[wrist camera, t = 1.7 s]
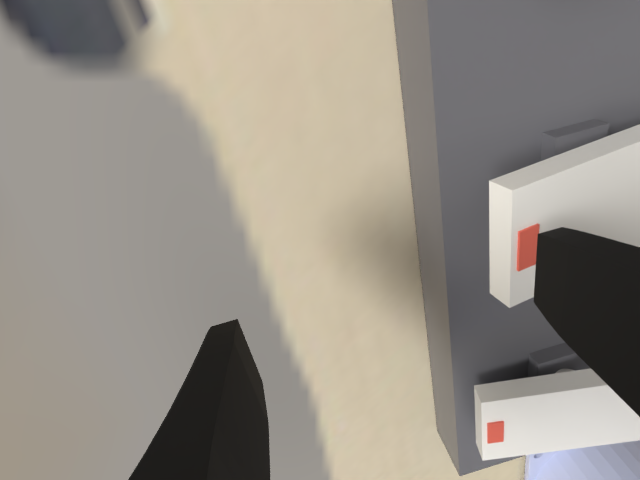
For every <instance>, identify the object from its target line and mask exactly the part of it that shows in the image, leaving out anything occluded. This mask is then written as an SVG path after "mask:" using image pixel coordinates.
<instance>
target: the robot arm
mask: <svg viewBox="0 0 640 480" xmlns="http://www.w3.org/2000/svg"><path fill="white" fill-rule="evenodd" d="M534 303H535V305H536V306H537V307H538V309H539V310H540V312H541V313H542V314H543V316H544V317H545V318H546V320H547V321H548V322H549V324H550V325H551V326H552V327H553V329H554V330H555V331H556V332H557V334H558V335H559V336H560V337H561V338H562V339H563V340H564V341H565V343H566V344H567V345H568V346H569V347H570V348H571V349H572V350H573V351H574V352H575V353H576V354H577V355H578V356H579V357H580V358H581V359H582V360H583V361H584V362H585V363H586V364H587V365H588V366H589V367H590V368H591V369H592V370H593V371H594V372H595V373H596V374H597V375H598V376H599V377H600V378H601V379H602V380H603V381H604V382H605V383H606V384H607V385H608V386H609V387H610V388H611V389H612V390H613V391H614V392H615V393H616V394H617V395H618V396H619V397H620V398H621V399H622V400H623V401H624V402H625V403H626V404H627V405H628V406H629V407H630V408H631V409H632V410H633V411H634V412H635V413H636V414H637V415H638V416H639V417H640V247H637V246H633V245H630V244H626V243H623V242H619V241H616V240H612V239H609V238H605V237H601V236H598V235H594V234H590V233H587V232H583V231H578V230H574V229H569V228H565V227H560V228H557V229H553V230H550V231H546V232H543V233H539V234H538V238H537V254H536V270H535V286H534ZM129 480H270V456H269V428H268V417H267V410H266V403H265V396H264V389H263V383H262V380H261V377H260V375H259V372H258V369H257V367H256V364H255V362H254V360H253V357H252V355H251V352H250V349H249V347H248V344H247V342H246V340H245V337H244V335H243V332H242V329H241V327H240V324H239V322H238V319H236V320H233V321H229V322H226V323H222V324H219V325H216V326H212V327H211V328H210V329H209V331H208V332H207V335H206V337H205V339H204V341H203V344H202V345H201V347H200V350H199V352H198V354H197V356H196V358H195V360H194V363H193V365H192V367H191V369H190V371H189V373H188V375H187V377H186V379H185V381H184V383H183V385H182V387H181V389H180V391H179V393H178V395H177V397H176V399H175V400H174V403H173V404H172V406H171V409H170V410H169V412H168V414H167V416H166V417H165V419H164V421H163V423H162V424H161V426H160V428H159V430H158V431H157V433H156V435H155V436H154V438H153V440H152V442H151V444H150V445H149V447H148V449H147V450H146V452H145V454H144V455H143V457H142V459H141V460H140V462H139V464H138V465H137V467H136V468H135V470H134V472H133V473H132V475H131V476H130V478H129ZM524 480H640V440H638V441H631V442H623V443H615V444H607V445H600V446H592V447H584V448H577V449H569V450H561V451H554V452H546V453H538V454H530V455H526V463H525V478H524Z"/></svg>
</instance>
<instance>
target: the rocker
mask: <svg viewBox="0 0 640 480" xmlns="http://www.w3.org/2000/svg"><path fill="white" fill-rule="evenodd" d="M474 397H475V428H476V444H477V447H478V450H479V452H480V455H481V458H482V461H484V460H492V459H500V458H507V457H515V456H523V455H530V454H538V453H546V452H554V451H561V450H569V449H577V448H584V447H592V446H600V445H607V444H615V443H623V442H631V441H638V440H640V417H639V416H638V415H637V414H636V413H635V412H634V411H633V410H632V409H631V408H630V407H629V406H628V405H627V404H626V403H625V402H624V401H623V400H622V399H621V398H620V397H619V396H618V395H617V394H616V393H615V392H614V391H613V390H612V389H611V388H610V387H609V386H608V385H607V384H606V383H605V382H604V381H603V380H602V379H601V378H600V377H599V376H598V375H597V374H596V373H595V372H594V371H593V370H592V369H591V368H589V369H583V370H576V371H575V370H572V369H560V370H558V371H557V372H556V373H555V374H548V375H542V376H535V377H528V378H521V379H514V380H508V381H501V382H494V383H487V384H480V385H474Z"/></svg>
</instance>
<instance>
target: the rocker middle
mask: <svg viewBox="0 0 640 480" xmlns="http://www.w3.org/2000/svg"><path fill="white" fill-rule="evenodd" d="M560 227H565V228H569V229H574V230H578V231H583V232H587V233H590V234H594V235H598V236H601V237H605V238H609V239H612V240H616V241H619V242H623V243H626V244H630V245H633V246H637V247H640V124H639V125H636V126H633V127H631V128H628V129H625V130H623V131H620V132H617V133H615V134H612V135H609V136H607V137H604V138H601V139H599V140H596V141H593V142H591V143H588V144H585V145H583V146H580V147H577V148H575V149H572V150H569V151H567V152H564V153H561V154H559V155H556V156H553V157H551V158H548V159H545V160H543V161H540V162H537V163H535V164H532V165H529V166H527V167H524V168H521V169H519V170H516V171H513V172H511V173H508V174H505V175H503V176H500V177H497V178H495V179H492V180H489V256H490V294H492V295H493V296H494V297H495V298H497V299H498V300H499V301H501V302H502V303H503V304H505V305H506V306H507V307H509V308H511V307H513V306H515V305H517V304H519V303H522V302H524V301H526V300H528V299H530V298H533V297H534V286H535V270H536V254H537V238H538V234H539V233H543V232H546V231H550V230H553V229H557V228H560Z"/></svg>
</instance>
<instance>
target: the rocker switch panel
mask: <svg viewBox="0 0 640 480" xmlns="http://www.w3.org/2000/svg"><path fill="white" fill-rule="evenodd" d="M392 4H393V13H394V23H395V32H396V42H397V51H398V61H399V70H400V80H401V89H402V99H403V109H404V118H405V128H406V137H407V147H408V156H409V166H410V175H411V185H412V194H413V204H414V213H415V223H416V232H417V242H418V251H419V261H420V271H421V280H422V290H423V299H424V309H425V318H426V328H427V337H428V347H429V356H430V366H431V375H432V385H433V394H434V404H435V413H436V423H437V431H438V433H439V435H440V437H441V439H442V441H443V443H444V445H445V447H446V449H447V452H448V454H449V456H450V458H451V460H452V462H453V464H454V466H455V468H456V470H457V472H458V474H459V476H462V475H465V474H468V473H471V472H474V471H478V470H481V469H484V468H487V467H490V466H493V465H497V464H500V463H503V462H506V461H509V460H512V459H516V458H519V457H522V456H515V457H507V458H500V459H492V460H484V461H482V458H481V455H480V452H479V450H478V447H477V444H476V428H475V397H474V385H480V384H487V383H494V382H501V381H508V380H514V379H521V378H528V377H535V376H542V375H548V374H555V373H556V372H557V371H558V370H560V369H572V370H575V371H576V370H583V369H589V368H590V367H589V366H588V365H587V364H586V363H585V362H584V361H583V360H582V359H581V358H580V357H579V356H578V355H577V354H576V353H575V352H574V351H573V350H572V349H571V348H570V347H569V346H568V345H567V344H566V343H565V341H564V340H563V339H562V338H561V337H560V336H559V335H558V334H557V332H556V331H555V330H554V329H553V327H552V326H551V325H550V324H549V322H548V321H547V320H546V318H545V317H544V316H543V314H542V313H541V312H540V310H539V309H538V307H537V306H536V305H535V303H534V297H533V298H530V299H528V300H526V301H524V302H522V303H519V304H517V305H515V306H513V307H511V308H509V307H507V306H506V305H505V304H503V303H502V302H501V301H499V300H498V299H497V298H495V297H494V296H493V295H492V294H490V256H489V180H492V179H495V178H497V177H500V176H503V175H505V174H508V173H511V172H513V171H516V170H519V169H521V168H524V167H527V166H529V165H532V164H535V163H537V162H540V161H543V160H545V159H548V158H551V157H553V156H556V155H559V154H561V153H564V152H567V151H569V150H572V149H575V148H577V147H580V146H583V145H585V144H588V143H591V142H593V141H596V140H599V139H601V138H604V137H607V136H609V135H612V134H615V133H617V132H620V131H623V130H625V129H628V128H631V127H633V126H636V125H639V124H640V0H392ZM523 456H525V455H523Z"/></svg>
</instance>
